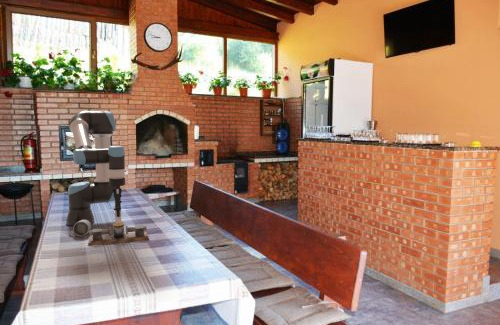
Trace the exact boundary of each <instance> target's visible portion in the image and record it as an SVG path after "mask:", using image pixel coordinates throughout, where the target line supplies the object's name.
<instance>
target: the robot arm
mask: <svg viewBox="0 0 500 325" xmlns="http://www.w3.org/2000/svg"><path fill="white" fill-rule="evenodd" d="M68 125H69V126H68V127H69V130H70V132H71V133H72V136H73V140H74V145H75V149H74V150H73V152H72V154H73V156H72V157H73V163H74V164H75V165H95V176H96V177H95V179H94V180H93V183H90V181H80V182H79V181H78V182H74V183H72V184H69V186H68V189H67V194H68V213H67V217H66V219H65V220H66V221H65V224H66V225H67V226H73V227H74V225H75V224H76V223H77V222H79V221H81V220H88V221H89V222H90V223H91V224H93V223H95V217H94V214H93V211H92V207H91V205H92V204H93V205H95V204H104V203H108V204H109V203H112V202H113V203H114V208H113V211H114V219H115V221H114V222H115V223H121V222H122V205H121V204H122V200H121V198H122V192H123V191H122V189H123V188H121V187H122V186H123V187H124V186H125V185H126V174H125V173H127V170H126V164H125V162H126V161H125V160H126V159H125V155H126V152H125V147H124V146H123V145H111V137H112V136H113V135H114V132H115V131H116V130H117V129H116V128H117V127H116V125H117V124H116V119H115V116H114V114H113V112H112V111H105V110H103V111H102V110H82V111H79V112H77V113H76V114H75V115H73V116H72V117H71V119H70V121H69V124H68ZM89 132H91V135H92V136H93V137H94V147H95V148H93V145H92V142H91V141H92V140H91V138H90V135H89Z"/></svg>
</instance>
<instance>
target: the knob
mask: <svg viewBox="0 0 500 325" xmlns="http://www.w3.org/2000/svg"><path fill="white" fill-rule="evenodd" d="M112 227H113V235H114V238H122V237H124V234H125V221H121V223H115V221H114V222H113V223H112Z"/></svg>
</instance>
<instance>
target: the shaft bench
mask: <svg viewBox="0 0 500 325" xmlns="http://www.w3.org/2000/svg"><path fill="white" fill-rule="evenodd" d="M147 230H148V228H147V225H143V224H141V225H139V224H138V225H134V226H128V225H125V233H124V237H122V238H114V234H112V227H111V226H109V227H108V228H104V229H102V228H93V229H90V230H89V232H88V234H89V237H88V241H87V246H99V245H108V244H120V243H131V242H140V241H141V242H144V241H149V240H150V239H149V235H148V232H147Z"/></svg>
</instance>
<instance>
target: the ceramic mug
mask: <svg viewBox="0 0 500 325" xmlns="http://www.w3.org/2000/svg"><path fill="white" fill-rule="evenodd" d="M89 230H92V223H90V222H89V221H88V220H81V221H79V222H77V223H76V224H75V225H74V226H73V228H72V230H70V231H69V232H68V235H69V236H72V235H76V236H77V237H85V236H86V235H87V234H89Z"/></svg>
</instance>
